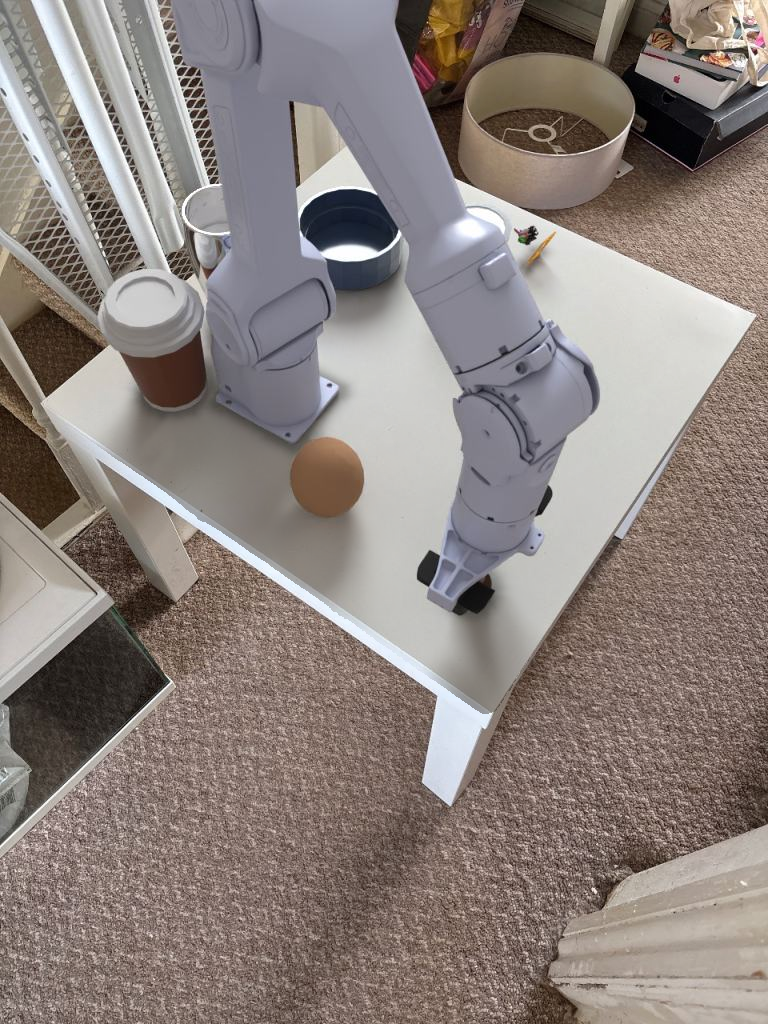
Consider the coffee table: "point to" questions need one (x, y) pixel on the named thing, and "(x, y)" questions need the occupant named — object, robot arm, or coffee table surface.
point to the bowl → (352, 236)
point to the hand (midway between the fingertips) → (474, 570)
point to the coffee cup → (157, 336)
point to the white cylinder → (491, 216)
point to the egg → (326, 477)
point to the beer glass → (205, 231)
